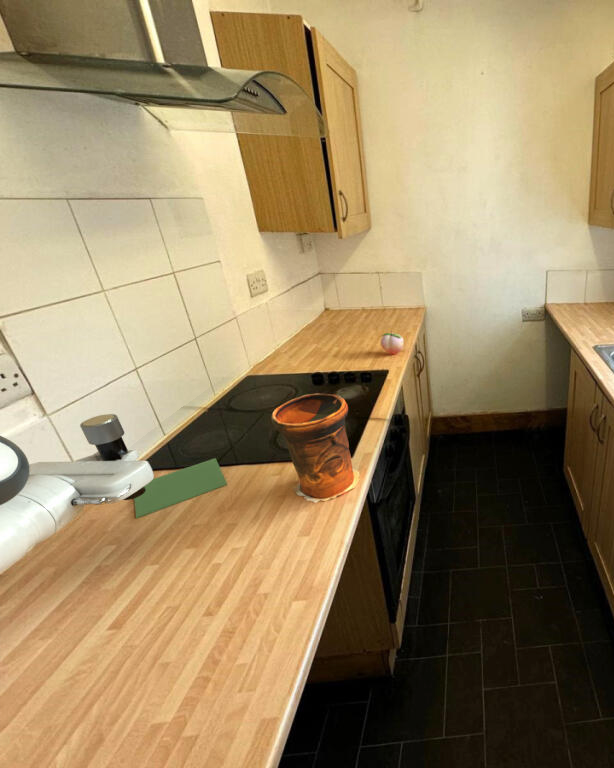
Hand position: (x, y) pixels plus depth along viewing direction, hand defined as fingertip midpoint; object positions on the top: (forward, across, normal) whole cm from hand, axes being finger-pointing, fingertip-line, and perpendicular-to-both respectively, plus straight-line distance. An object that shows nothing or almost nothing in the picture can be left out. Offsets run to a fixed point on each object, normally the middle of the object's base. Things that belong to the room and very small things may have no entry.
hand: (119, 453), depth 76 cm
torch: (-1, 0, +8) cm, 9 cm away
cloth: (+12, +3, +17) cm, 21 cm away
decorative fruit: (+98, -24, +17) cm, 102 cm away
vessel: (+12, -31, +17) cm, 37 cm away
